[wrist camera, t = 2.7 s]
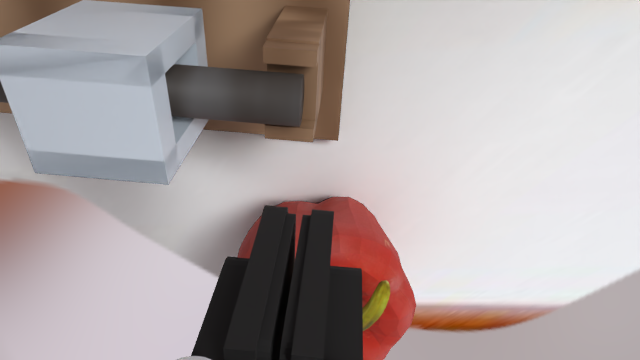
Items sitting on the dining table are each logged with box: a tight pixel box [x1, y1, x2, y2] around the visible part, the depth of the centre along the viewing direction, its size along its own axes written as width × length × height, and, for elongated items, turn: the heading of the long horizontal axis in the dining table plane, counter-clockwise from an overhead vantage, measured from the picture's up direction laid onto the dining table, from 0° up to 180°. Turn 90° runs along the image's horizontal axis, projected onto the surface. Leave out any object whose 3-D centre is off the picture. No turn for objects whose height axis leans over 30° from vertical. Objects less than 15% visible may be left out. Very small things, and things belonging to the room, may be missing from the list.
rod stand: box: [0, 0, 350, 142], centre depth 20 cm, size 29×10×9 cm, turn 87°
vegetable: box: [238, 197, 416, 360], centre depth 26 cm, size 11×10×10 cm
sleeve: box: [0, 0, 209, 185], centre depth 17 cm, size 5×5×6 cm
